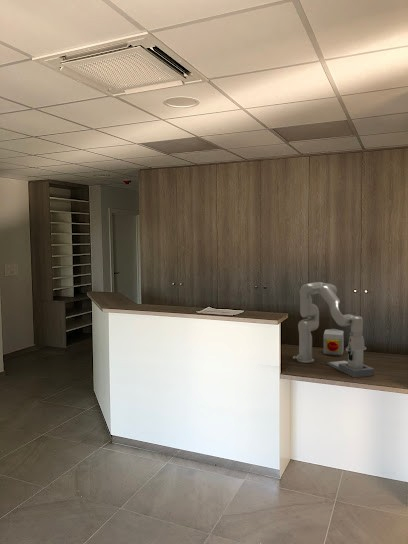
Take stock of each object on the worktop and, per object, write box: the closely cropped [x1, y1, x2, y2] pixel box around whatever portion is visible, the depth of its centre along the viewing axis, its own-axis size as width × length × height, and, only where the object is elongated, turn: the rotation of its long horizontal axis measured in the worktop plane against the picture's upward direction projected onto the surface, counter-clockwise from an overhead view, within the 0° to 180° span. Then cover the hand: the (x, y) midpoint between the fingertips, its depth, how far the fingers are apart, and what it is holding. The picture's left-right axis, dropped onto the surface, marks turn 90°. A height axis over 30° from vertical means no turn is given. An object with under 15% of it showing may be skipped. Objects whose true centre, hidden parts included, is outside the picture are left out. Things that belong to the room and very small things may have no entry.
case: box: [325, 360, 376, 379], centre depth 319 cm, size 16×34×4 cm, turn 16°
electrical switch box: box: [323, 328, 345, 356], centre depth 360 cm, size 14×15×20 cm
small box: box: [347, 349, 364, 369], centre depth 311 cm, size 8×6×13 cm
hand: (355, 359), depth 311 cm, fingers closed on small box, 7 cm apart
